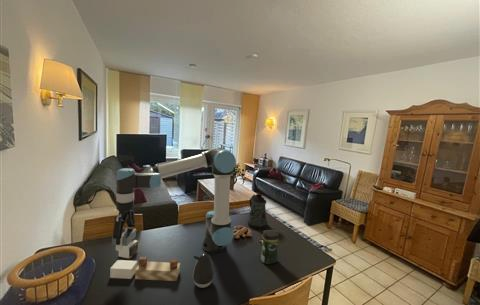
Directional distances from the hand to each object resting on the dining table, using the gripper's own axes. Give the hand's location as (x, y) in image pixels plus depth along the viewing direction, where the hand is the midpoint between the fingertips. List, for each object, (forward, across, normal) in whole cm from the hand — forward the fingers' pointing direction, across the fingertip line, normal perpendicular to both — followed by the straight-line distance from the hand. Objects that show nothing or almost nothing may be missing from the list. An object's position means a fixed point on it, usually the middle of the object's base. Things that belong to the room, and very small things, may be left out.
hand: (124, 244), depth 102 cm
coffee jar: (+16, -17, +76) cm, 80 cm away
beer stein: (+16, -64, +73) cm, 98 cm away
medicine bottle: (+16, -16, -6) cm, 23 cm away
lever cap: (-2, 0, 0) cm, 2 cm away
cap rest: (+16, 0, 0) cm, 16 cm away
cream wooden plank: (+16, 0, +17) cm, 23 cm away
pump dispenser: (+16, +4, +40) cm, 43 cm away
